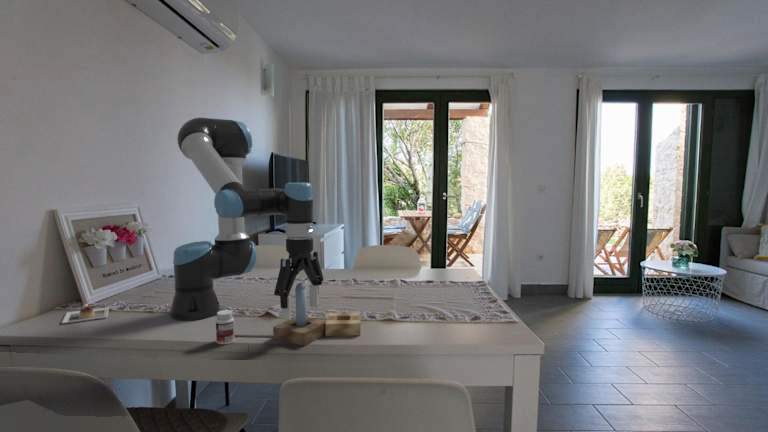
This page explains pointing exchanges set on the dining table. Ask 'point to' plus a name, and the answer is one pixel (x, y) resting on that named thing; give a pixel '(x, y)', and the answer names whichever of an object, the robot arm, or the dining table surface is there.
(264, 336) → the thin wooden stick
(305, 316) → the blue-grey peg
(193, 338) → the dining table surface
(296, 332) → the square wooden ring
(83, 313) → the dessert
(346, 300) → the dining table surface
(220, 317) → the pill bottle
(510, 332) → the dining table surface
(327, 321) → the light wood square frame
